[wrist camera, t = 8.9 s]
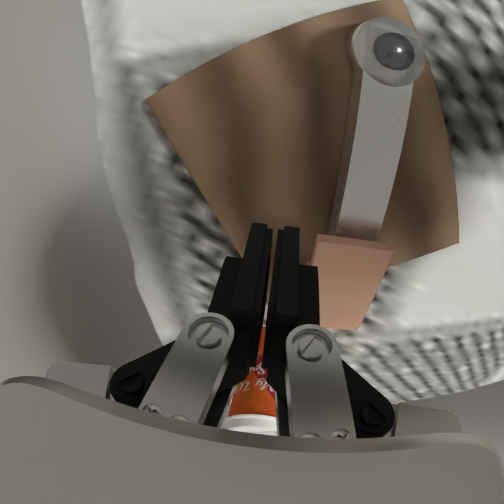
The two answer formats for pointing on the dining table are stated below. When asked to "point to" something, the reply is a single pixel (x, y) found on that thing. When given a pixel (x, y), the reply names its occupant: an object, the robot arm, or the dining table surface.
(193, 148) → the board
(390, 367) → the dining table surface
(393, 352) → the dining table surface
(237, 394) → the paper cup
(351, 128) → the link
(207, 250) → the dining table surface
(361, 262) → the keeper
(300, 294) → the robot arm
